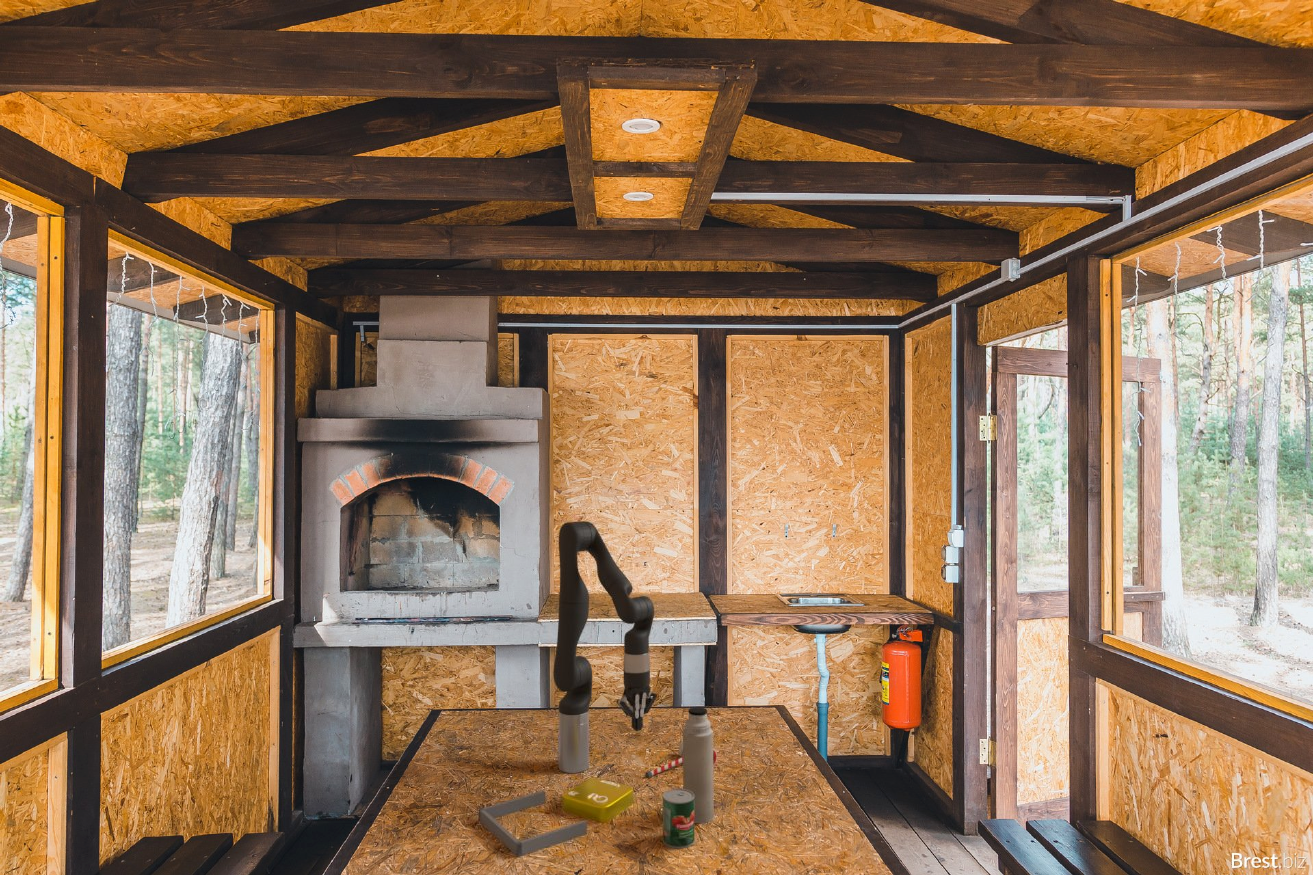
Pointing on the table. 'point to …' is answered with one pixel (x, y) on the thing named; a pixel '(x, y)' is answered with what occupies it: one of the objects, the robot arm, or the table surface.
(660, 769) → the toy hammer
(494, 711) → the table surface
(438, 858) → the table surface
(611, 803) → the element tile
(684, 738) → the thermos bottle
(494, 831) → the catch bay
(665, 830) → the canned tomato
